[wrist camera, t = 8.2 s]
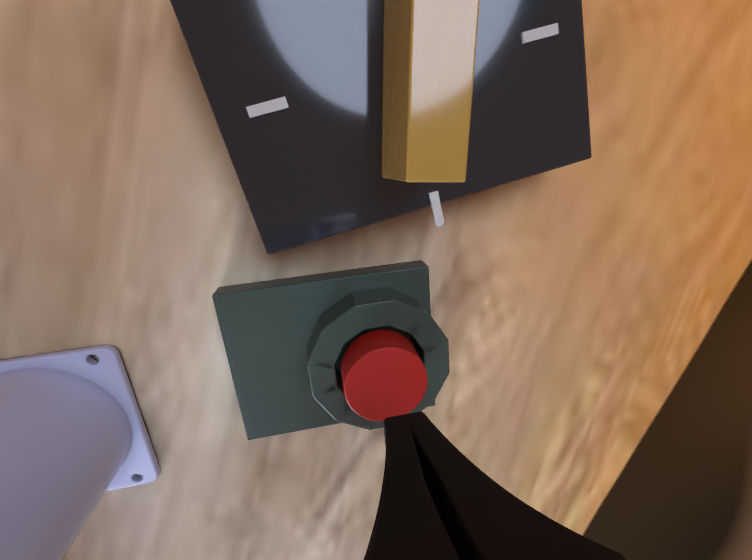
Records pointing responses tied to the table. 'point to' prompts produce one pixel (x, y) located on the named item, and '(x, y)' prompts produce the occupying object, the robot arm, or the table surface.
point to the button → (382, 375)
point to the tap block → (375, 106)
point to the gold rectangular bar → (427, 88)
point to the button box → (321, 341)
